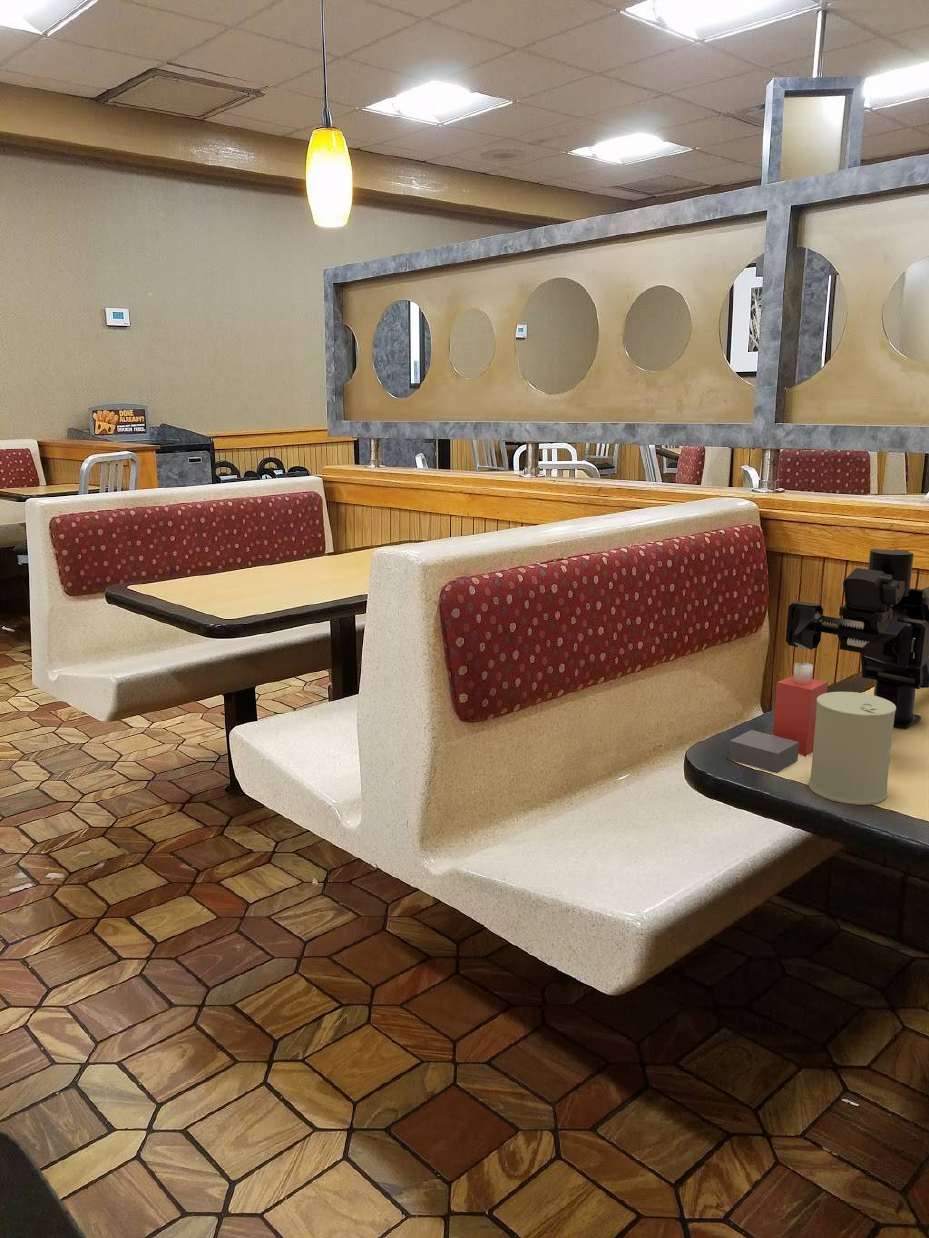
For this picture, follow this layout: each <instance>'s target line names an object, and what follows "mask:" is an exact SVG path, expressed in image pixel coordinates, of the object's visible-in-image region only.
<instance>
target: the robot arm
mask: <svg viewBox="0 0 929 1238" xmlns="http://www.w3.org/2000/svg"><path fill="white" fill-rule="evenodd" d="M914 555H915V554H914V553H913V552H910V551H909V550H905V549H897V548H895V549H878V548H872V549H870V550H869V557H868V566H867V567H868V568H860V567H858V568H854V569H853V570H852V571H851V572H850V573H849V574H848V575H847V577H846V578H845V579H844V580H843V581H842V586H843V594H844V605H841V606H839V613H838V614H839V616H840V617H837V616H831V615H825V614H824V608H823V607H822V606H823V605H822V604H818V603H812V602H806V601H800V600H799V601H795V602H792V603H791V604H789V605H788V606H787V607H788V608H787V609H788V610H787V617H786V618H787V619H786V633H785V642H786V643H787V645H788V646H790V647H794V648H798V649H803V650H809V651H813V650H814V649H816V648H818V647H819V645H820V643H821V641H822V633H824V634H830V635H835V636H837V638H838V640H839V650H842V651H846V652H847V651H848V652H852V653H858V654H860V661H861V662H860V663H861V677H862V678H863V679H869V680H874V687H873V689H874V690H873V695H874V696H878V697H881V698H884V699H886V700H889V701H890V702H892V703H893V704H894V705H895V706H896V711H895V717H894V725H893V727H896V728H901V729H907V728H909V727H910V726H912V725H914V724H916V723H917V722H919V721H921V719H922V716H921V715H919V714H915V713H914V708H915V700H916V691H917V690H920V689H922V688H925V689H926V688H929V586H927V587H924V588H922V589H919V588H911V583H912V582H911V580H912V573H913V572H912V571H913V565H914V564H913V563H914Z"/></svg>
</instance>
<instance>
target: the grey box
mask: <svg viewBox="0 0 929 1238" xmlns="http://www.w3.org/2000/svg"><path fill="white" fill-rule="evenodd" d="M728 745H729V749H728V760H730V761H734V762H736V763H741V764H744V765H747V766H751V767H753V768H758V769H761V770H764V771H765V770H766V771H767V772H772V773H774V774H778V773H779V772H781V771H783V770H785V769H786V768H788V767H789V766H792V765H793V764H794V763H797V762H798V759H799V754H798V749H799V742H797V741H793V740H789V739H785V738H781V737H777V736H773V734H770V733H769V734H768V733H764V732H761V731H757V730H755V729H754V730H753V729H751V730H748V731H746V732H744V733H742V734H740V735H738V736H736V737H735V738H731V740H729V744H728Z"/></svg>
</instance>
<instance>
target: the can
mask: <svg viewBox="0 0 929 1238" xmlns="http://www.w3.org/2000/svg"><path fill="white" fill-rule="evenodd" d="M895 711H896V706H895V705H894V704H893V703H892V702H890V701H889V700H886V699H884V698H881V697H878V696H874V694H868V693H864V692H863V693H862V692H856V691H854V692H853V691H831V692H827V693H825V694H822V695H820V696H818V697H817V710H816V723H815V735H814V747H813V752H812V758H811V769H810V776H809V777H810V778H809V780H808V787H809V789H810V790H811V791H812V792H813V793H814V794H816V795H818V796H819V797H821V798H823V799H826V800H828V801H832V802H836V803H841V804H845V805H847V804H848V805H854V806H855V805H857V806H858V805H859V806H867V805H876V804H879V803H882V802H884V801H885V800H886V799H887V798H888V779H889V778H888V777H889V770H890V769H889V768H890V757H891V750H892V739H893V731H894V726H893V725H894V717H895Z"/></svg>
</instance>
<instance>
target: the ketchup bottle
mask: <svg viewBox="0 0 929 1238" xmlns="http://www.w3.org/2000/svg"><path fill="white" fill-rule="evenodd" d="M813 671H814V664H812V663H808V662H794V669H793V674H792V675H791V676H788V677H786V678H784V679H783V678H782V679H781V680H778V681H777V682H776V689H775V690H776V691H775V703H774V704H775V705H774V715H773V716H774V717H773V718H774V719H773V731H772V735H773V736H777V737H781V738H785V739H789V740H793V741H797V742H799V749H798V755H801V756H804V757H807V756H809V755H810V754H813V747H814V735H815V723H816V710H817V697H818V696H820V695H822V694H825V693H828V684H829V682H828V681H824V680H820V679H814V678H813Z"/></svg>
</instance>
